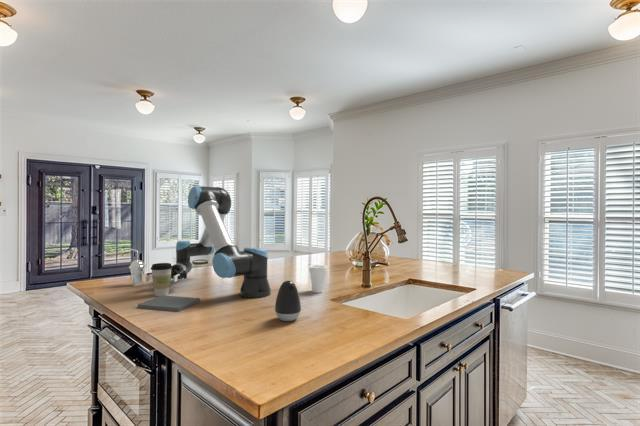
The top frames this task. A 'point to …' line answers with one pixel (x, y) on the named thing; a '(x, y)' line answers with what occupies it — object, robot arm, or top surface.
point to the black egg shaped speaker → (287, 302)
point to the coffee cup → (161, 278)
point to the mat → (169, 303)
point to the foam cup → (318, 277)
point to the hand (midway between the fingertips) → (160, 279)
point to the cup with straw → (137, 270)
